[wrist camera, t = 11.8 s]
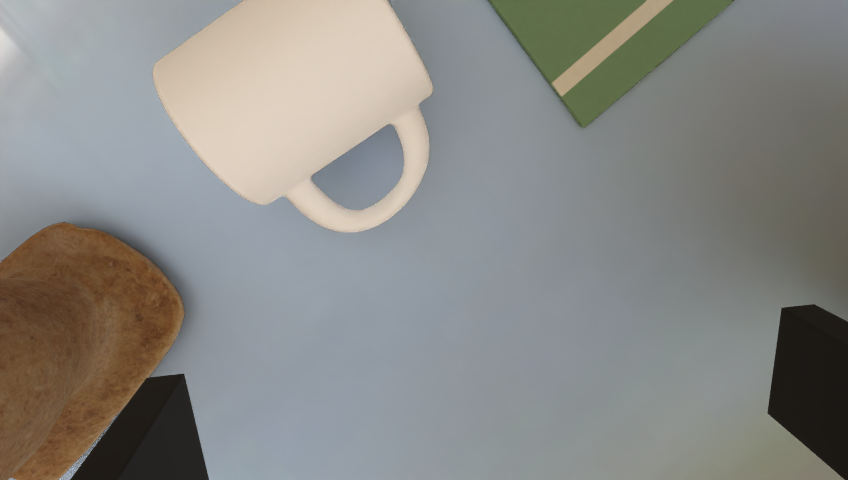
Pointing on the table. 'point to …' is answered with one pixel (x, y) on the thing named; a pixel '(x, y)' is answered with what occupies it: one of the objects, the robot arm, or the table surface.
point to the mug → (298, 99)
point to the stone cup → (75, 343)
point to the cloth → (601, 43)
